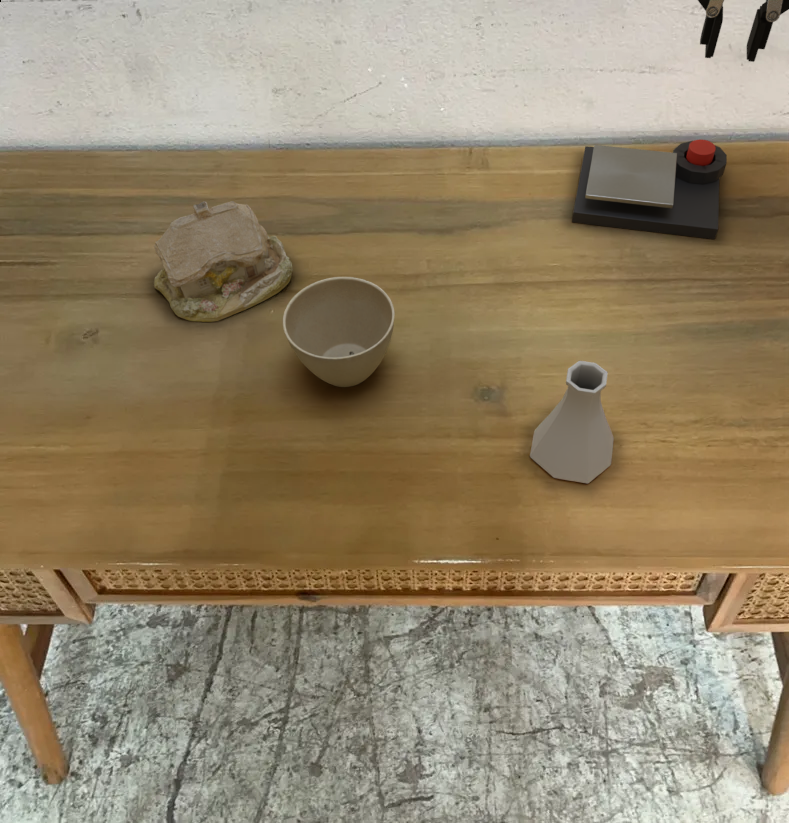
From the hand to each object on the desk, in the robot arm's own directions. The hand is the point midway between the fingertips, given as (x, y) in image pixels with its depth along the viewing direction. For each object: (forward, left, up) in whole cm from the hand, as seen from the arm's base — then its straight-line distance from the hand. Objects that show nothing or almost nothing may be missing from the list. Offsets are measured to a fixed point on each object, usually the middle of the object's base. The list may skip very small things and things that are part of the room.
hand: (729, 50), depth 82 cm
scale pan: (+7, +5, -12) cm, 15 cm away
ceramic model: (+47, +26, -15) cm, 56 cm away
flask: (+9, +40, -15) cm, 44 cm away
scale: (+5, +4, -15) cm, 17 cm away
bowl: (+31, +35, -15) cm, 49 cm away
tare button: (0, 0, -13) cm, 13 cm away
